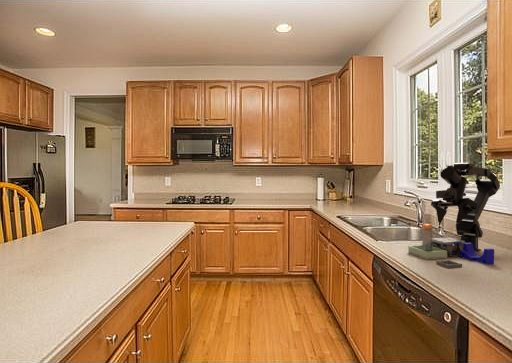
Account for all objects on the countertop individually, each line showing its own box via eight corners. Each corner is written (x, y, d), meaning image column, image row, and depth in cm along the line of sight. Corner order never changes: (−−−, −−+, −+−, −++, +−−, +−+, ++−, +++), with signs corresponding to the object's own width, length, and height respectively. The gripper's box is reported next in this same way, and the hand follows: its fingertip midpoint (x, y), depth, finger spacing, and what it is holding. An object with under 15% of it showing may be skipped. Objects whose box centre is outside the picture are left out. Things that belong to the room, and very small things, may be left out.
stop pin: (430, 253, 144) (430, 224, 144) (432, 255, 140) (433, 225, 140) (421, 252, 145) (421, 223, 144) (423, 254, 141) (423, 225, 141)
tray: (427, 251, 149) (427, 244, 149) (447, 258, 138) (447, 250, 138) (408, 252, 147) (408, 246, 147) (427, 259, 136) (427, 252, 136)
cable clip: (460, 257, 139) (460, 243, 139) (469, 256, 140) (469, 242, 140) (483, 265, 127) (483, 249, 127) (494, 264, 128) (494, 249, 128)
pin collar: (449, 262, 131) (449, 260, 131) (462, 266, 125) (462, 264, 125) (436, 263, 130) (436, 261, 130) (448, 268, 124) (448, 265, 124)
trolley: (449, 249, 153) (449, 236, 152) (472, 255, 140) (472, 241, 140) (423, 251, 150) (423, 237, 150) (444, 258, 138) (444, 243, 138)
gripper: (426, 183, 152) (416, 215, 149) (461, 179, 134) (452, 215, 131) (444, 193, 155) (435, 225, 151) (482, 190, 137) (473, 226, 134)
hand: (448, 222), depth 142 cm, fingers open, 9 cm apart
